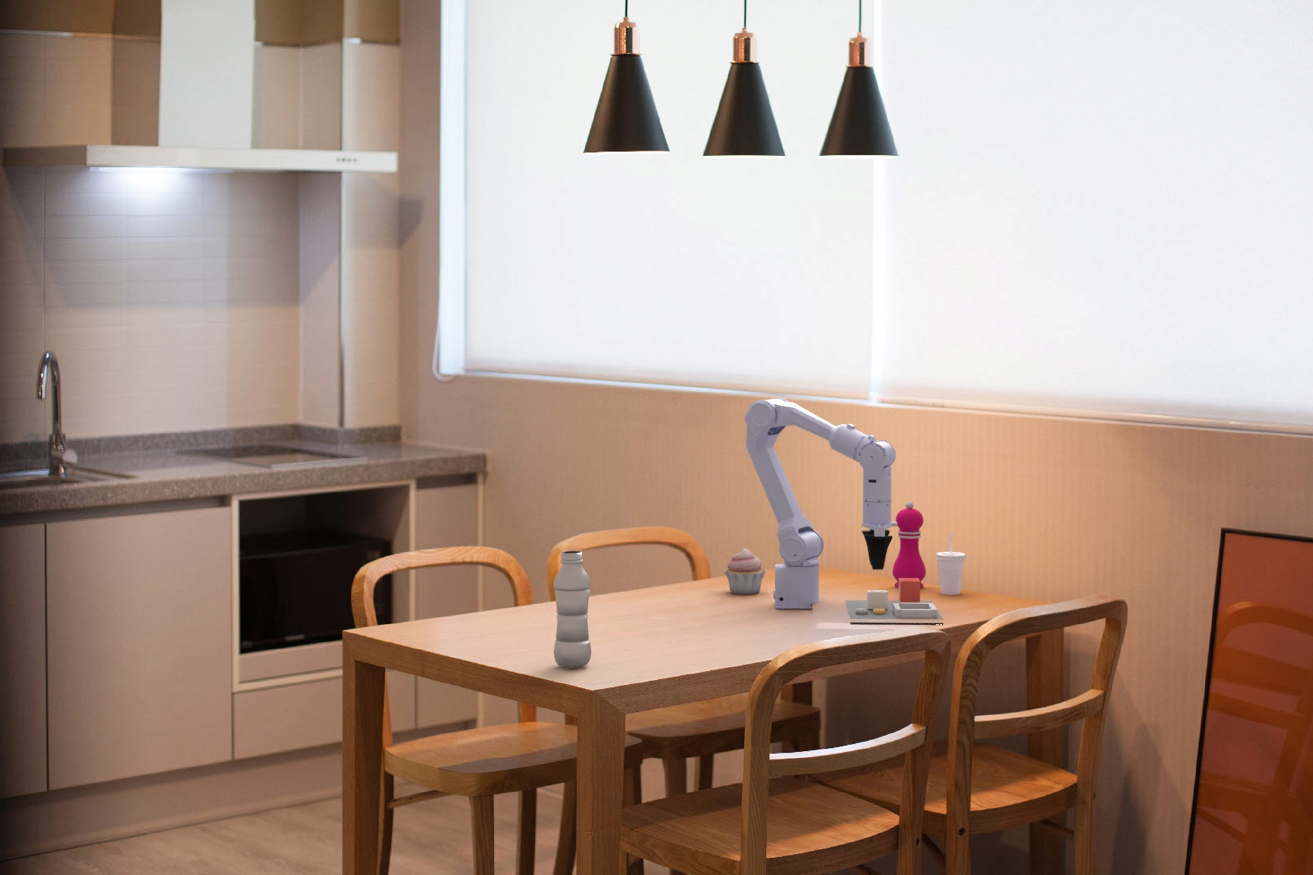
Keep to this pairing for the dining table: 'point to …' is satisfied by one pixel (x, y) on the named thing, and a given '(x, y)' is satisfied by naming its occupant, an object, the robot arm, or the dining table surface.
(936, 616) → the panel
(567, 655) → the plastic bottle
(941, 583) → the smoothie
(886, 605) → the block
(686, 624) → the dining table surface
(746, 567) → the cupcake
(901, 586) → the cap
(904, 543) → the pepper mill
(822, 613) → the dining table surface
